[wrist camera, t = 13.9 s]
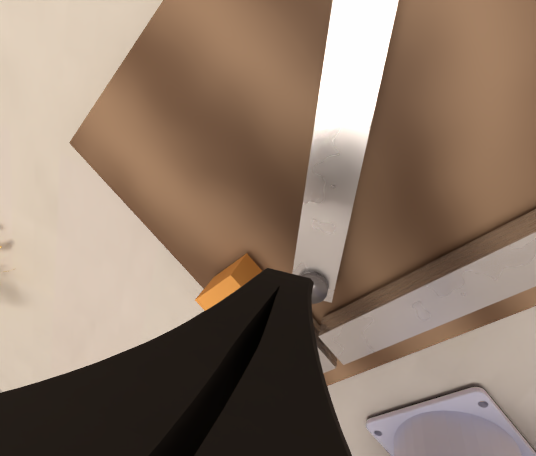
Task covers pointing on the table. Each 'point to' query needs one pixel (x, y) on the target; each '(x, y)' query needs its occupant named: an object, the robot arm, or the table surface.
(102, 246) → the table surface
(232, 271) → the orange block
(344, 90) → the bar
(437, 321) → the tongs frame
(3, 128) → the table surface
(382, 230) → the walnut board
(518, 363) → the table surface
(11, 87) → the table surface
